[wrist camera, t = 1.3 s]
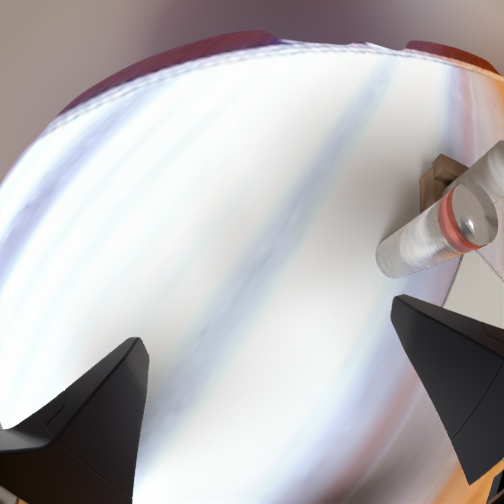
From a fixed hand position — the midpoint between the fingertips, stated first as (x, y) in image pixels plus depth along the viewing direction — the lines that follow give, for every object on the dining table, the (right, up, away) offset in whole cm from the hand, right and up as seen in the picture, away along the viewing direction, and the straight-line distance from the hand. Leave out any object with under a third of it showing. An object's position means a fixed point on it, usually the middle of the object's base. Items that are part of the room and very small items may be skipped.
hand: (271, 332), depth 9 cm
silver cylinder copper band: (+13, +2, +15) cm, 20 cm away
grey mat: (+25, -5, +13) cm, 29 cm away
